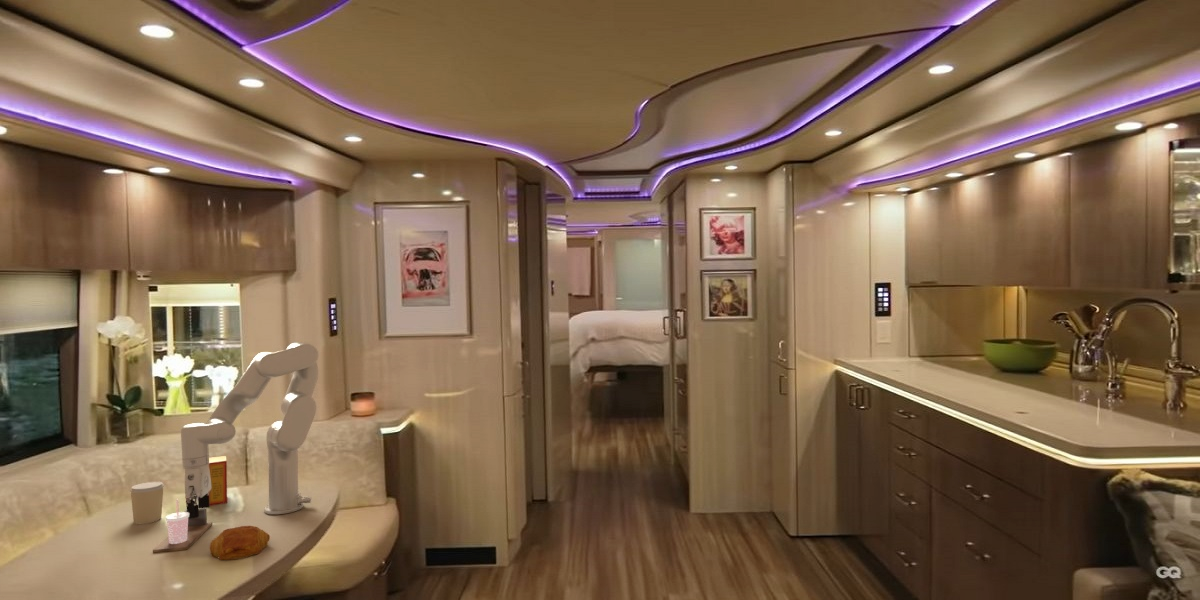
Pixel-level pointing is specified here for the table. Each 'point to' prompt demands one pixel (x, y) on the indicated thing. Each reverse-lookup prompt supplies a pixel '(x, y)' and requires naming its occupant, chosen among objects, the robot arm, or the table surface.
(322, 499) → the table surface
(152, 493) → the coffee cup
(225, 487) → the baking soda box
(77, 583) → the table surface
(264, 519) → the table surface
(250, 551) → the croissant
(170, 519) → the beverage cup
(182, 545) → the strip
